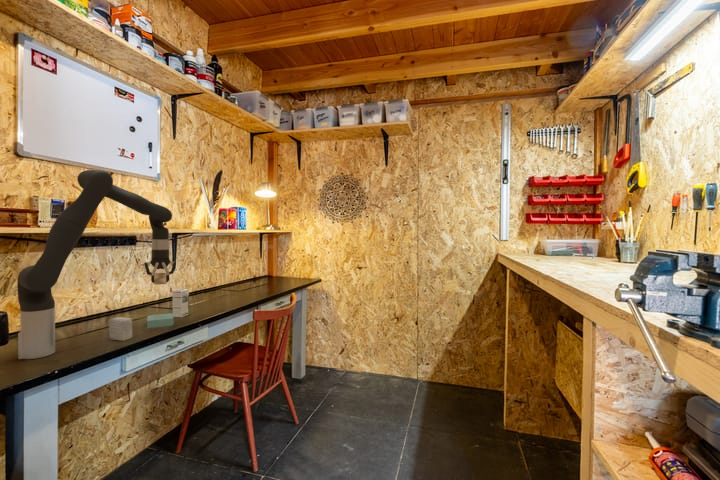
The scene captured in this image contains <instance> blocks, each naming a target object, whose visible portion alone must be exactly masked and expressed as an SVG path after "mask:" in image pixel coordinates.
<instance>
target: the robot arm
mask: <svg viewBox="0 0 720 480" xmlns="http://www.w3.org/2000/svg"><path fill="white" fill-rule="evenodd" d="M113 179H114V178H113V176H112V175H111V173H109V172H108V171H106V170H103V169H86V170H83V171H81V172H79V174H78V175H77V179H76V180H77V184H78V185H79V187H80V188H81V189H82V191H81V192H80V194H79V196H78V197H77V198H76V199H75V200H74V201H73V202H72V203H70V204H69V205H68V206H67V207H65V209H64V210H62V211H61V212H60V214H59V215H58V216H57V217H56V219H55V220H54V223H53V224H52V226H51V228H50V229H49V232H48V235H47V239H46V244H45V247H44V249H43V252H42V254H41V255H40V257H39V258H38V260H37V261H36V263H35V264H34V265H29V266H26V267H24V268H22V269H21V271H20V272H19V273H18V275H17V282H16V283H17V299H18V300H17V301H18V305H19V310H20V311H19V314H20V315H19V317H20V331H19V332H18V334H17V342H18V343H17V345H18V346H17V349H18V351H17V352H18V353H17V354H18V360H32V359H33V360H34V359H39V358H40V359H41V358H44V357H48V356H51V355H53V354H55V353H56V310H55V309H56V302H55V299H54V296H53V294H52V288H53V287H54V286H55V285H56V284H57V282H58V280H59V277H60V275H61V273H62V271H63V269H64V265H65V264H66V262H67V259H68V258H69V256H70V254H71V253H72V251H73V250H74V248H75V247H76V246H77V243H78V241H80V238H81V237H82V236H83V234H84V232H85V230H86V228H87V226H88V225H89V223H90V221H91V220H92V218H93V216H94V214H95V213H96V210H97V209H98V207H99V205H100V204H101V203H102V201H103V200H104V199H105V198H107V199H110V200H111V201H114V202H117V203H118V204H121V205H123V206H125V207H127V208H129V209H131V210H132V211H134V212H137V213H139V214H140V215H143V216H148V220H149V224H150V229H151V232H152V233H151V238H152V239H151V260H150V261H147V262H146V261H145V262H144V263H143V264H144V268H145V272H146V274H147V275H148V276H149V275H150V280H151V283H152V284H154V274H155V273H157V272H156V271H157V270H164V273H166V284H168V283H169V282H170V275H173V274H174V272H175V268H176V265H177V262H176V261H172V260H170V259H171V258H170V237H169V236H170V235H169V234H170V232H169V228H167V227H165V225H164V223H169V222H170V221H171V220H172V219H173V213H172V211H171V210H170V209H169V208H167V207H166V206H163V205H160V204H157V203H154V202H152V201H150V200H149V199H147V198H145V197H143V196H141V195H139V194H137V193H134V192H132V191H129V190H126V189H125V188H121V187H120V186H117V185H114V180H113ZM169 265H170V266H172V267H171V270H169V268H168V266H169ZM150 266H152V267H153V269H152V270H150V268H149V267H150Z"/></svg>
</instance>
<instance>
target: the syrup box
mask: <svg viewBox="0 0 720 480" xmlns="http://www.w3.org/2000/svg"><path fill="white" fill-rule="evenodd" d="M189 297H190V289H189V288H178V289H174V290H172V313H173V318H184V317H185V316H189V315H190V298H189Z"/></svg>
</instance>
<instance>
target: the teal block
mask: <svg viewBox="0 0 720 480" xmlns="http://www.w3.org/2000/svg"><path fill="white" fill-rule="evenodd" d="M174 318H175V317H173V312H172V313H171V312H170V313H169V312H168V313H160V314H159V313H158V314H151V315H150V314H148V315H147V319H146V329H155V328H156V329H157V328H163V327H170V326H171V327H172V325H173V326H174V320H175V319H174Z"/></svg>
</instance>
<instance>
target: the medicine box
mask: <svg viewBox="0 0 720 480" xmlns="http://www.w3.org/2000/svg"><path fill="white" fill-rule="evenodd" d="M108 338H109V340H112V341H113V340H114V341H123V342H125V341H127V340H130V339H133V318H130V317H122V316H121V317H120V316H117V317H113V318H110V319H108Z"/></svg>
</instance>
